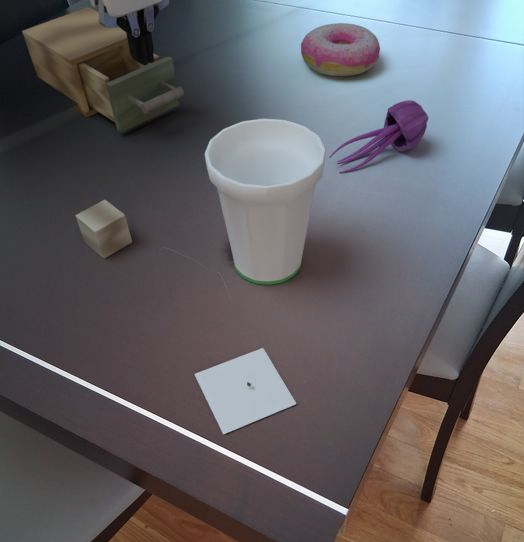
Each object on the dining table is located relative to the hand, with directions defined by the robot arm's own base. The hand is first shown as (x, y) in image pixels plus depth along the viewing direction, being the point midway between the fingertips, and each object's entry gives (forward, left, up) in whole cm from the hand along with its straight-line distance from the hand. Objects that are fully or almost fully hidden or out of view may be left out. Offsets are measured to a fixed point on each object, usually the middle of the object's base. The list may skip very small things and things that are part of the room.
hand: (143, 60), depth 81 cm
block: (-21, -17, -10) cm, 29 cm away
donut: (+35, -7, -11) cm, 38 cm away
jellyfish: (+18, -29, -11) cm, 36 cm away
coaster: (-24, -46, -11) cm, 53 cm away
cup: (-9, -34, -11) cm, 37 cm away
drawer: (0, +6, -9) cm, 11 cm away
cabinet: (0, +18, -10) cm, 21 cm away
